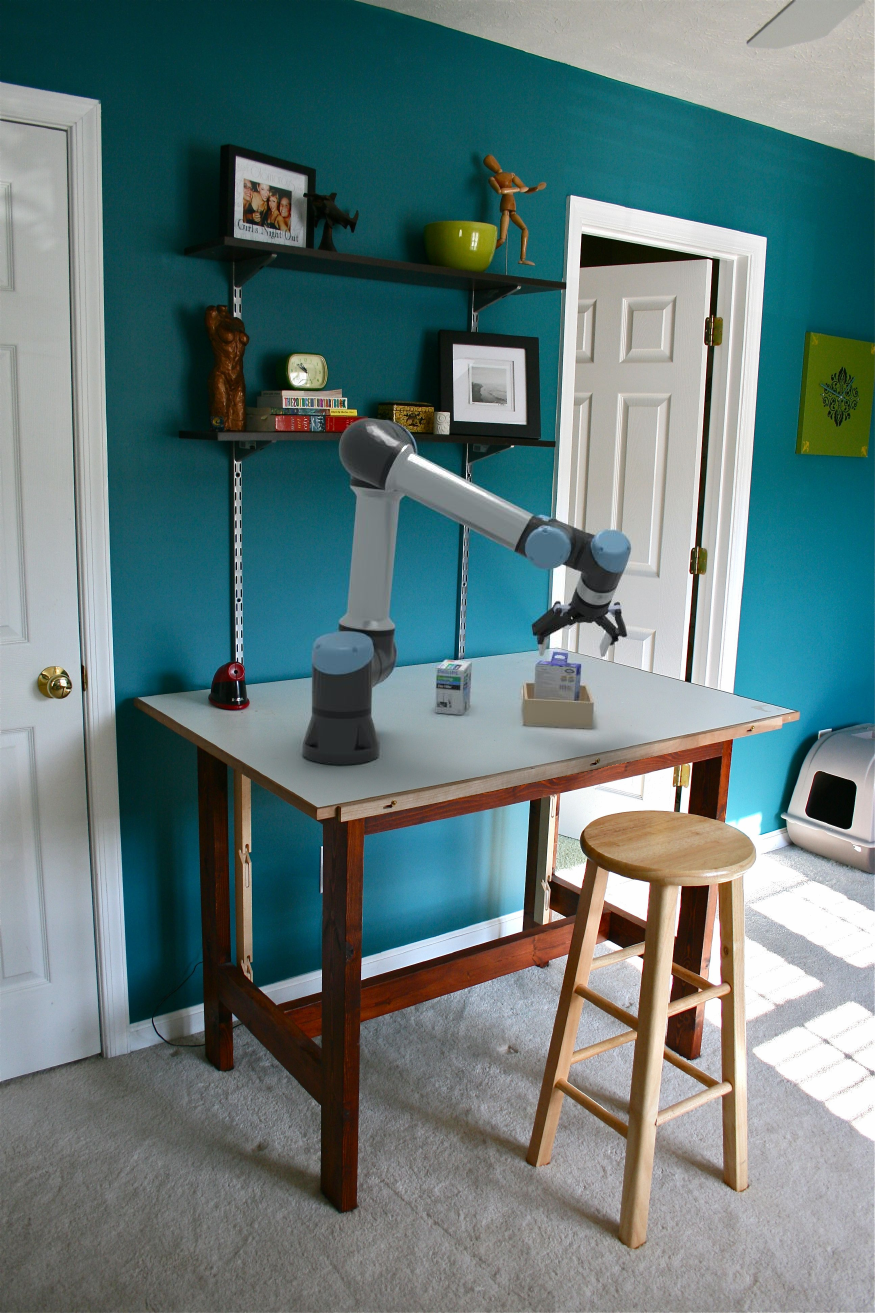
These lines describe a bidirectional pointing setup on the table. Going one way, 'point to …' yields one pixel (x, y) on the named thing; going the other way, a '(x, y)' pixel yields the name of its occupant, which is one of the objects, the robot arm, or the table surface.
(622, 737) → the table surface
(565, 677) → the ink cartridge box
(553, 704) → the open tan box
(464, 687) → the light bulb box
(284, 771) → the table surface
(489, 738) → the table surface
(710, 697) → the table surface
